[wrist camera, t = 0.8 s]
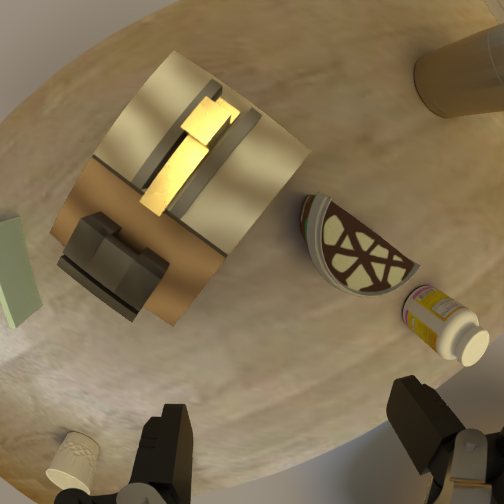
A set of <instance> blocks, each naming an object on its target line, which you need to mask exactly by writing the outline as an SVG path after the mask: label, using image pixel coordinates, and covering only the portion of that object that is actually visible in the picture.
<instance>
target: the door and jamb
mask: <svg viewBox="0 0 504 504" xmlns="http://www.w3.org/2000/svg"><path fill="white" fill-rule="evenodd" d="M206 96H207V97H208V98H210V99H211V100H213V101H214V102H216V101H217V100H218V98H219V97H220V98H222V99H223V100H224V101H226V102H227V103H228V104H230V105H231V106H233V107H234V108H235V109H237V110H238V111H239V112H240V116H239V118H238V119H237V120H236V121H235V122H234V124H233V125H232V126H231V127H230V128H229V130H228V131H227V132H226V133H225V134H224V136H223V137H222V138H221V139H220V141H219V142H218V143H217V144H216V146H215V147H214V148H213V149H212V151H211V152H210V153H209V154H208V156H207V157H206V158H205V159H204V161H203V162H202V163H201V164H200V166H199V167H198V168H197V170H196V171H195V172H194V174H193V175H192V176H191V177H190V179H189V180H188V181H187V183H186V184H185V185H184V187H183V188H182V190H181V191H180V192H179V194H178V195H177V196H176V198H175V199H174V200H173V202H172V203H171V205H170V206H169V207H168V209H167V210H166V212H165V213H164V214H163V215H161V216H160V217H159V216H158V215H156V214H155V213H154V212H152V211H151V210H150V209H148V208H147V207H146V206H144V205H143V204H142V203H140V202H139V201H140V200H141V198H142V197H143V195H144V194H145V192H146V191H147V189H148V188H149V187H150V185H151V184H152V182H153V181H154V180H155V178H156V177H157V175H158V174H159V173H160V171H161V170H162V168H163V167H164V166H165V164H166V163H167V162H168V160H169V159H170V158H171V156H172V155H173V154H174V152H175V151H176V150H177V148H178V147H179V146H180V145H181V143H182V142H183V141H184V139H185V138H186V137H187V136H188V134H187V133H186V132H185V131H184V130H183V129H182V128H181V125H182V124H183V123H184V122H185V121H186V119H187V118H188V117H189V116H190V114H191V113H192V112H193V111H194V110H195V108H196V107H197V106H198V105H199V104H200V102H201V101H202V100H203V99H204V98H205V97H206ZM310 153H311V151H310V150H309V149H308V148H307V147H305V146H304V145H303V144H302V143H301V142H300V141H298V140H297V139H296V138H295V137H294V136H292V135H291V134H290V133H289V132H288V131H286V130H285V129H284V128H283V127H281V126H280V125H279V124H278V123H276V122H275V121H274V120H273V119H271V118H270V117H269V116H268V115H266V114H265V113H264V112H262V111H261V110H260V109H258V108H257V107H256V106H255V105H253V104H252V103H251V102H249V101H248V100H247V99H245V98H244V97H242V96H241V95H240V94H238V93H237V92H236V91H234V90H233V89H231V88H230V87H229V86H227V85H226V84H224V83H223V82H221V81H220V80H219V79H217V78H216V77H214V76H213V75H211V74H210V73H208V72H207V71H205V70H204V69H202V68H201V67H199V66H198V65H196V64H195V63H193V62H192V61H190V60H189V59H187V58H185V57H184V56H182V55H181V54H179V53H177V52H176V51H173V52H172V53H171V54H170V55H169V56H168V57H167V58H166V60H165V61H164V62H163V63H162V64H161V65H160V66H159V67H158V69H157V70H156V71H155V72H154V73H153V74H152V75H151V77H150V78H149V79H148V80H147V81H146V83H145V84H144V85H143V86H142V87H141V89H140V90H139V91H138V92H137V94H136V95H135V96H134V97H133V99H132V100H131V101H130V103H129V104H128V105H127V107H126V108H125V109H124V111H123V112H122V113H121V115H120V116H119V117H118V119H117V120H116V121H115V123H114V124H113V126H112V127H111V128H110V130H109V131H108V133H107V134H106V136H105V137H104V139H103V140H102V142H101V143H100V145H99V146H98V148H97V149H96V151H95V152H94V155H93V157H91V158H90V160H89V162H88V163H87V165H86V166H85V168H84V170H83V171H82V173H81V175H80V176H79V178H78V180H77V182H76V183H75V185H74V187H73V189H72V190H71V192H70V194H69V196H68V198H67V199H66V201H65V203H64V205H63V207H62V209H61V211H60V213H59V215H58V217H57V219H56V221H55V223H54V225H53V227H52V229H51V231H50V234H51V235H52V236H54V237H55V238H56V239H57V240H58V241H59V242H61V243H62V244H63V245H64V246H65V249H64V251H63V253H64V255H63V256H61V257H60V259H59V261H58V263H57V265H58V266H59V267H60V268H61V269H62V270H64V271H65V272H66V273H67V274H68V275H70V276H71V277H72V278H73V279H75V280H76V281H77V282H78V283H80V284H81V285H82V286H83V287H85V288H86V289H87V290H89V291H90V292H91V293H92V294H94V295H95V296H96V297H98V298H99V299H100V300H102V301H103V302H104V303H106V304H107V305H108V306H110V307H111V308H112V309H114V310H115V311H117V312H118V313H119V314H121V315H122V316H124V317H125V318H126V319H128V320H129V321H131V322H133V320H134V319H135V317H136V316H137V314H138V312H139V311H140V310H141V309H142V307H145V308H146V309H148V310H149V311H151V312H152V313H154V314H155V315H156V316H158V317H159V318H161V319H162V320H164V321H165V322H167V323H168V324H170V325H171V326H174V325H175V324H176V322H177V321H178V320H179V318H180V317H181V316H182V314H183V313H184V312H185V311H186V309H187V308H188V307H189V305H190V304H191V303H192V302H193V300H194V299H195V298H196V296H197V295H198V294H199V292H200V291H201V290H202V289H203V287H204V286H205V285H206V283H207V282H208V281H209V280H210V278H211V277H212V276H213V275H214V273H215V272H216V271H217V269H218V268H219V267H220V266H221V264H222V263H223V262H224V260H225V259H226V257H227V256H228V255H229V254H230V253H231V252H232V250H233V249H234V248H235V246H236V245H237V244H238V243H239V241H240V240H241V239H242V238H243V236H244V235H245V234H246V233H247V231H248V230H249V229H250V228H251V226H252V225H253V224H254V222H255V221H256V220H257V219H258V217H259V216H260V215H261V214H262V212H263V211H264V210H265V209H266V207H267V206H268V205H269V204H270V202H271V201H272V200H273V199H274V197H275V196H276V195H277V194H278V192H279V191H280V190H281V189H282V187H283V186H284V185H285V184H286V183H287V181H288V180H289V179H290V178H291V176H292V175H293V174H294V173H295V171H296V170H297V169H298V168H299V166H300V165H301V164H302V163H303V161H304V160H305V159H306V158H307V157H308V155H309V154H310Z"/></svg>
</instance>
